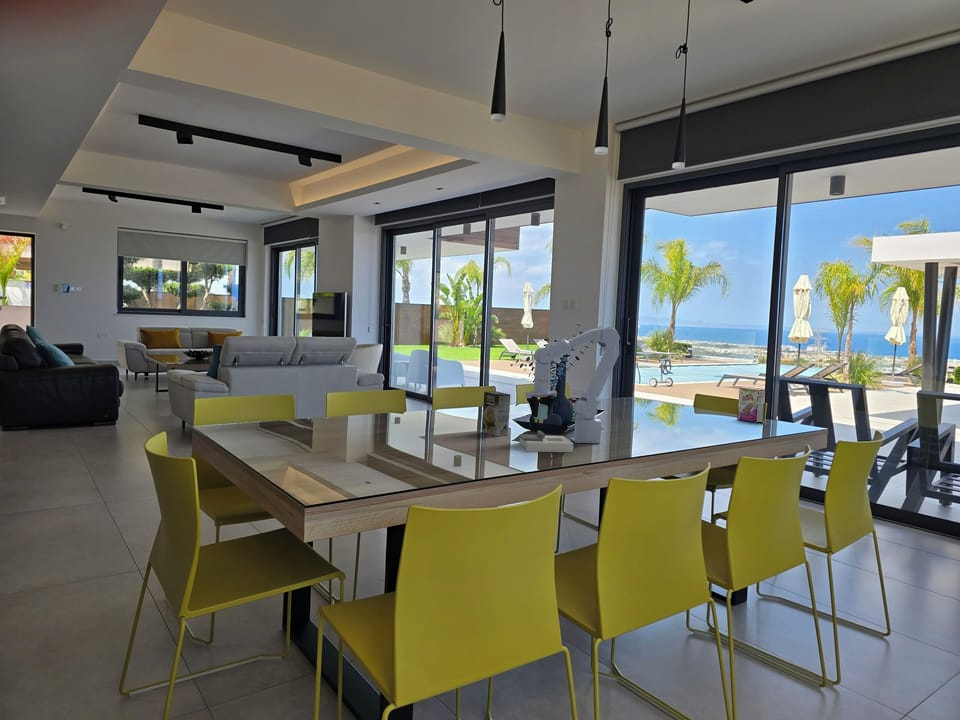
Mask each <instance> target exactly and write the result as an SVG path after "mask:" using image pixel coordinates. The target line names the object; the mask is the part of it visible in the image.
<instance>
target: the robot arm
mask: <svg viewBox="0 0 960 720" xmlns="http://www.w3.org/2000/svg"><path fill="white" fill-rule="evenodd" d="M620 339H621V336H620V335H619V333H618V331H617V328H614V327H611V326H606V327H605V326H599V327H597V328H592V329H589V330H587V331H585V332H583V333H581V334H578V335H577V336H574V337H572V338H570V339H568V340H567V339H565V338H562V339H561V338H558V339H556V341H553V342H552V343H549V344H548V343H547V344H544V347H538V348H537V349H536V350H535V351H534V353H533V359H534V360H535V364H534V375H533V376H534V381H533V382H534V383H533V391H532V390H531V391H527V392H524V394H525V395H524V396H525V398H526V401H527V403H528V405H529V408H530V413H531V417H532V418H533V417H537V416H538V408H539V404H541V402H542V404H544V405H547V406H548V412H547V417H549V415H550V411H551V409H552V406H553V405H554V403H555V401H556V397H557V396H558V392H557V390H550V383H551V362H552V361H554V360H556V359H559V358H560V357H563V356H565V355H568V354H569V353H570V352H571V350H572V349H573V348H575V347H578V346H582V345H584V344H587V343H589V342H597V343H598V344H599V346H600V348H601V350H602V352H603V355H602V357H601V359H600V361H599V363H598V366H597V367H596V369H595V371H594V374H593V375H592V378H591V379H590V382H589V383H588V385H587V388H586V390H585V391H584V392H583V393H581V395H580V397H579V399H577V400H576V401H575V403H574V405H573V410H574V411H575V418H574V420H575V421H574V435H573V437H570V440H572V441H573V442H574V443H577V444H601V443H602V442H601V432H602V422H601V419H600V418H595V417H596V415H597V414H598V407H599V403H600V394H601V393H602V391H603V389H604V388H605V385H606V383H607V380H608V379H609V376H611V375H610V374H611V372H612V370H613V369H614V366H615V364H616V362H617V360H618V358H619V356H620Z"/></svg>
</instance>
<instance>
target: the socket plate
mask: <svg viewBox="0 0 960 720" xmlns="http://www.w3.org/2000/svg"><path fill="white" fill-rule="evenodd" d="M519 444H520V445H521V446H522V447H523V448H524V450H525V451H526V452H535V453H536V452H537V453H539V452H540V453H544V452H545V453H574V443H573V442H572V441H570V440H569V439H568V438H567V437H565V436H564V435H545V439H543V441H526V440H522V439H521V438H520V437H519Z"/></svg>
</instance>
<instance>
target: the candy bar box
mask: <svg viewBox="0 0 960 720" xmlns="http://www.w3.org/2000/svg"><path fill="white" fill-rule="evenodd" d="M765 392H766V391H765V389H761V388H755V387H749V386H740V387H739V389H738V404H737V405H738V407H737V418H736V419H737V420H739V419H740V421H744V420H745V422H749V421H750V423H754V422H756V423H755V424H758V423H757V422H762V423H763V417H764V403H765Z"/></svg>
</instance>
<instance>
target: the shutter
mask: <svg viewBox="0 0 960 720" xmlns="http://www.w3.org/2000/svg"><path fill="white" fill-rule="evenodd" d="M545 436H546V434H545V433H544V432H543V431H542V430H537V434H527V433H526V434H525V433H524V434H523V433H522V434H521V433H520V434H519V439H520V438H521V439H522V440H526V441H543V439H545Z"/></svg>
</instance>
